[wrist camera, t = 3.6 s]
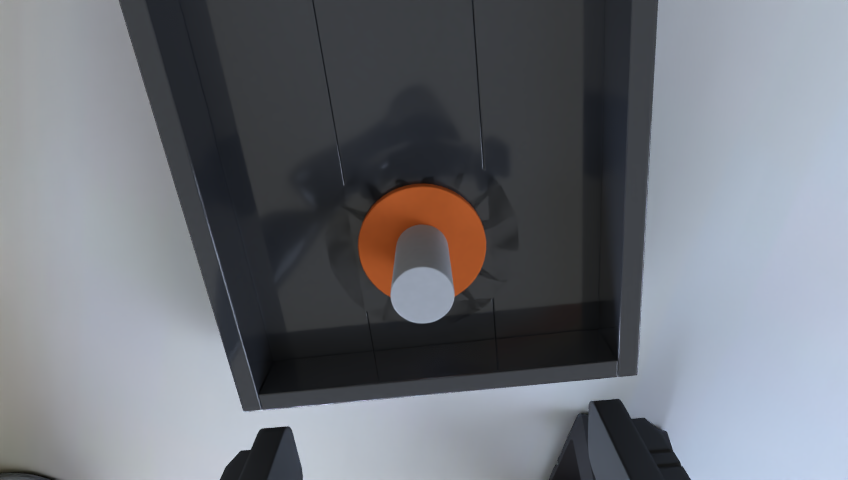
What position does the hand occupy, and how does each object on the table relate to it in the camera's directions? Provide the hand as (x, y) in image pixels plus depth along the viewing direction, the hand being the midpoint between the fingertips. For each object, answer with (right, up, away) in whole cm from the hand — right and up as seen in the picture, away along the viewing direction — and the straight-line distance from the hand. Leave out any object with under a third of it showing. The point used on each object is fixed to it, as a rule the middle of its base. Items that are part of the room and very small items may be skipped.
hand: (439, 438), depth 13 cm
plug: (0, +6, +14) cm, 15 cm away
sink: (-1, +12, +12) cm, 17 cm away
